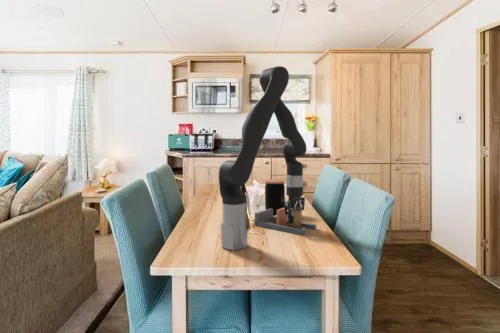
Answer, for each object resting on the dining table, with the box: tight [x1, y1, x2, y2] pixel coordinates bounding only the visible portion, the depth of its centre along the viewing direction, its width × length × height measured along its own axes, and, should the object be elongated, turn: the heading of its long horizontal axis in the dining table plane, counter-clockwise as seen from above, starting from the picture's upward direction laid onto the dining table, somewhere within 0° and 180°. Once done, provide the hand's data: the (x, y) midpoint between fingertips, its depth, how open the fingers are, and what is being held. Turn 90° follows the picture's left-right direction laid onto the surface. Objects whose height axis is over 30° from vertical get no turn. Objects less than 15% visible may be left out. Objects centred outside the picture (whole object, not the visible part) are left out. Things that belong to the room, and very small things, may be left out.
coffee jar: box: [264, 179, 286, 216], centre depth 174 cm, size 11×11×18 cm
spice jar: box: [287, 207, 303, 229], centre depth 144 cm, size 6×6×10 cm
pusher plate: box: [274, 208, 288, 226], centre depth 150 cm, size 4×7×8 cm, turn 140°
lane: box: [254, 208, 317, 236], centre depth 148 cm, size 26×12×6 cm, turn 50°
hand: (294, 221), depth 144 cm, fingers closed on spice jar, 6 cm apart
